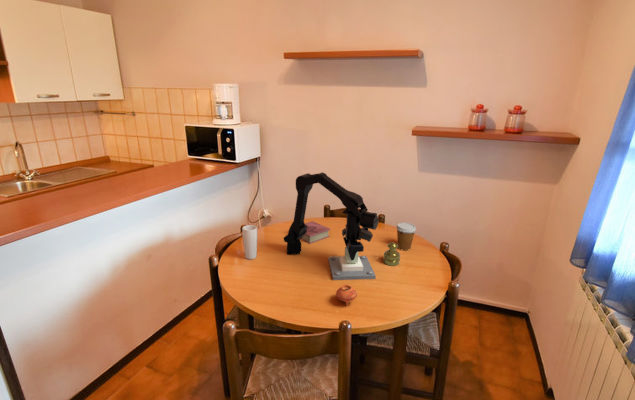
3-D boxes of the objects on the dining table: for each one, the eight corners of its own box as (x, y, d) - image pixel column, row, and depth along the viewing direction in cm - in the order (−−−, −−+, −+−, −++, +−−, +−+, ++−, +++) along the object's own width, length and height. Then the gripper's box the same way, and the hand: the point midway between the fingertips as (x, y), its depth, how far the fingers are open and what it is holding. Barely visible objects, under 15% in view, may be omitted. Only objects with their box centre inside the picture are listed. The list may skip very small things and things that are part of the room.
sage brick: (346, 262, 150) (346, 252, 148) (344, 257, 154) (345, 247, 153) (357, 262, 150) (358, 252, 149) (355, 257, 155) (356, 246, 153)
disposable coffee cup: (410, 253, 169) (413, 231, 166) (391, 249, 174) (394, 226, 170) (415, 246, 177) (418, 224, 173) (397, 242, 182) (399, 221, 178)
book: (311, 228, 197) (311, 220, 196) (329, 237, 187) (330, 228, 185) (291, 235, 188) (291, 226, 187) (309, 244, 178) (310, 235, 176)
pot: (360, 306, 127) (357, 291, 125) (339, 311, 127) (336, 296, 125) (356, 293, 135) (353, 278, 132) (336, 297, 134) (333, 283, 132)
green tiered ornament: (399, 267, 156) (401, 247, 153) (382, 265, 157) (384, 245, 154) (399, 259, 163) (401, 240, 160) (383, 258, 164) (385, 238, 161)
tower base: (333, 280, 144) (333, 272, 143) (328, 259, 161) (328, 252, 160) (375, 278, 146) (376, 271, 145) (366, 258, 163) (366, 252, 162)
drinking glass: (251, 262, 158) (250, 231, 153) (240, 258, 161) (238, 228, 156) (261, 256, 163) (260, 226, 159) (250, 252, 167) (249, 223, 162)
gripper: (377, 232, 139) (374, 267, 144) (366, 216, 157) (364, 247, 162) (349, 233, 138) (347, 268, 143) (342, 216, 156) (341, 248, 161)
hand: (351, 257), depth 152 cm, fingers closed on sage brick, 5 cm apart
